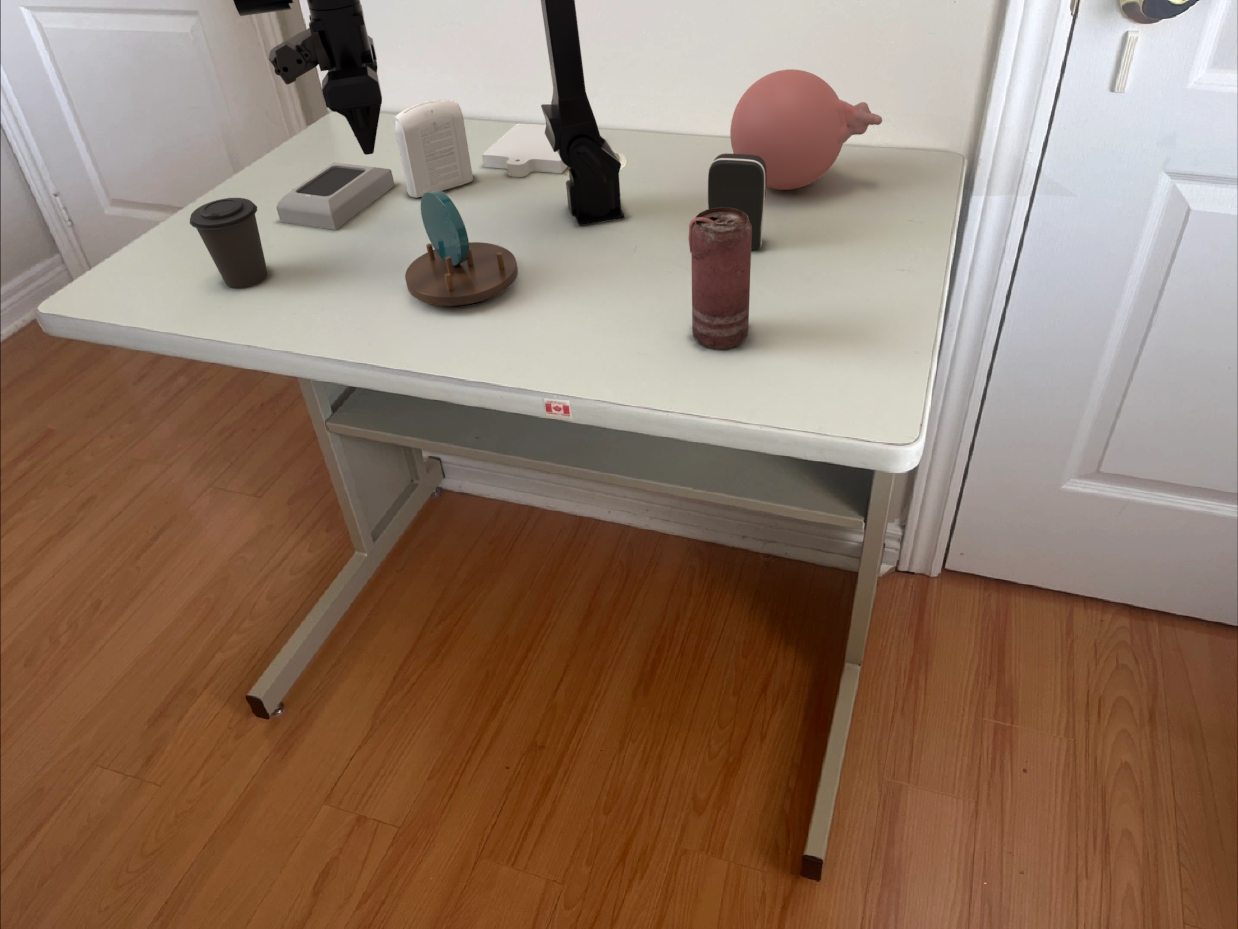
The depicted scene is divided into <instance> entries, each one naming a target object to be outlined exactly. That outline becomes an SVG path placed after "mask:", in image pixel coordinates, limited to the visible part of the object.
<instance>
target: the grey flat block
mask: <svg viewBox="0 0 1238 929" xmlns="http://www.w3.org/2000/svg"><path fill="white" fill-rule="evenodd" d="M395 185H396V184H395V180H394V176H393V171H392V169H391V168H384V167H376V166H367V165H361V164H360V165H359V164H350V163H342V162H332V163H331V164H329V165H328V166H327V167H325V168H323V169H322V170H321V171H319V172H317V173H316V174H314V175H313V176H312V177H310V178H308V179H307V180H305V181H304V182H302V183H301V184H299V185H298V186H296V187H294V189H292V190H290V191H289V192H287V193H285V195H284V196H283V197H282V198H281V199H279V201H278V202H277V204H276V207H275V209H276V211H277V215H278V218H279V221H280V223H284V224H291V225H292V224H293V225H298V226H299V225H300V226H305V227H313V228H320V229H326V230H333V231H337V230H338V229H339V228H341V227H342V226H343V225H345V224H346V223H347V222H349V221H350V220H351V219H353V218H354V217H355V216H357V215H358V214H359V213H361V212H362V211H364V210H365V209H366V208H368V207H369V206H370V205H371V204H373V203H374V202H375V201H376V200H378V199H379V198H381V197H382V196H384V195H385V194H386V193H387V192H389V191H390V190H391V189H392V188H394V187H395Z"/></svg>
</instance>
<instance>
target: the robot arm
mask: <svg viewBox="0 0 1238 929" xmlns="http://www.w3.org/2000/svg"><path fill="white" fill-rule="evenodd" d="M232 1H233V4H234V6H235V8H236V10H237V13H238V15H239V16H240V17H243V16H251V15H259V14H266V13H267V14H268V13H274V12H282V11H283V12H284V11H289V10H293V4H294V3H295V2H294V0H232ZM306 2H307V6H308V11H309V16H308V18H309V21H310V22H308V28H306V29H305V30H302V31H300V32H297V33H296V34H295V35H293V36H291V37H289V38H288V39H285V40H284V41H282V42H281V43H279V44H277V45H275V46H274V47H272V48H271V49H270V51H269V54H268V61H269V62H270V63H271V65H272V67H273V68H274V74H275V75H277V76H279V77H280V78H281V79H282V81H283V83H284V84H285V85H291V84H292V83H294V82H296V81H297V79H298V78H299V77H301V76H303V75H305V74H306V73H308V72H310V71H312V70H313V69H315V68H316V67H319V70H320V72H326V71H327V73H326V74H325V76H324V77H323V79H322V80H321V92H322V97H323V101H324V103H325V108H327V109H329V110H330V111H332V112H334V113H338V114H339V115H341V116H343V117H344V118H345V119H346V121H347V123H348V125H349V128H350V129H351V131H352V133H353V135H354V137H355V139H356V140H357V143H358V145H359V147H360V149H361V150H362V152H363V154H364V155H367V156H368V155H373V154H374V153H375V148H376V147H375V146H376V139H377V133H378V127H379V121H380V114H381V108H382V104H383V94H382V89H381V83H380V79H379V75H378V62H377V61H378V58H377V52H376V48H375V43H374V38H372V37H371V36H370V35H368V30H367V24H366V22H365V15H364V10H363V5H362V4H361V0H306ZM540 5H541V12H542V13H541V14H542V19H543V20H542V21H543V27H544V33H545V34H544V35H545V40H546V48H547V54H548V61H549V68H550V76H551V82H552V97H551V103H550V104H549V103H548V104H545V103H543V104H541V105H540V107H541V110H542V114H543V116H544V120H545V124H546V129H545V135H546V137H547V139H548V141H549V143H550V145H551V147H552V149H553V151H554V152H556V151H557V152H558V154H559V156H560V158H561V160H562V161H563V163H564V164H565V165H567V166H568V167H567V168H568V175H569V179H568V180H566V181H565V188H566V189H565V190H566V198H567V208H568V211H569V213H570V215H571V217H573V218H574V219H575V221H576V224H577V225H579V226H586V225H591V224H592V225H593V224H598V223H603V222H609V221H616V220H622V219H625V218H626V217H625V212H624V210H623V208H622V200H621V184H620V170H621V167H622V163H621V162H620V160H619V158H618V157H617V155H616V153H615V152H614V151H613V149H612V148H611V146H610V145H609V143H608V141H607V140H606V139H605V138H604V137H603V136H601V133H600V130H599V127H598V123H597V119H596V116H595V114H594V111H593V109H592V106H591V103H590V101H589V100H590V99H589V97H588V94H587V90H586V82H585V74H584V66H583V58H582V51H581V41H580V33H579V25H578V17H577V9H576V8H577V7H576V0H540Z"/></svg>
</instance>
